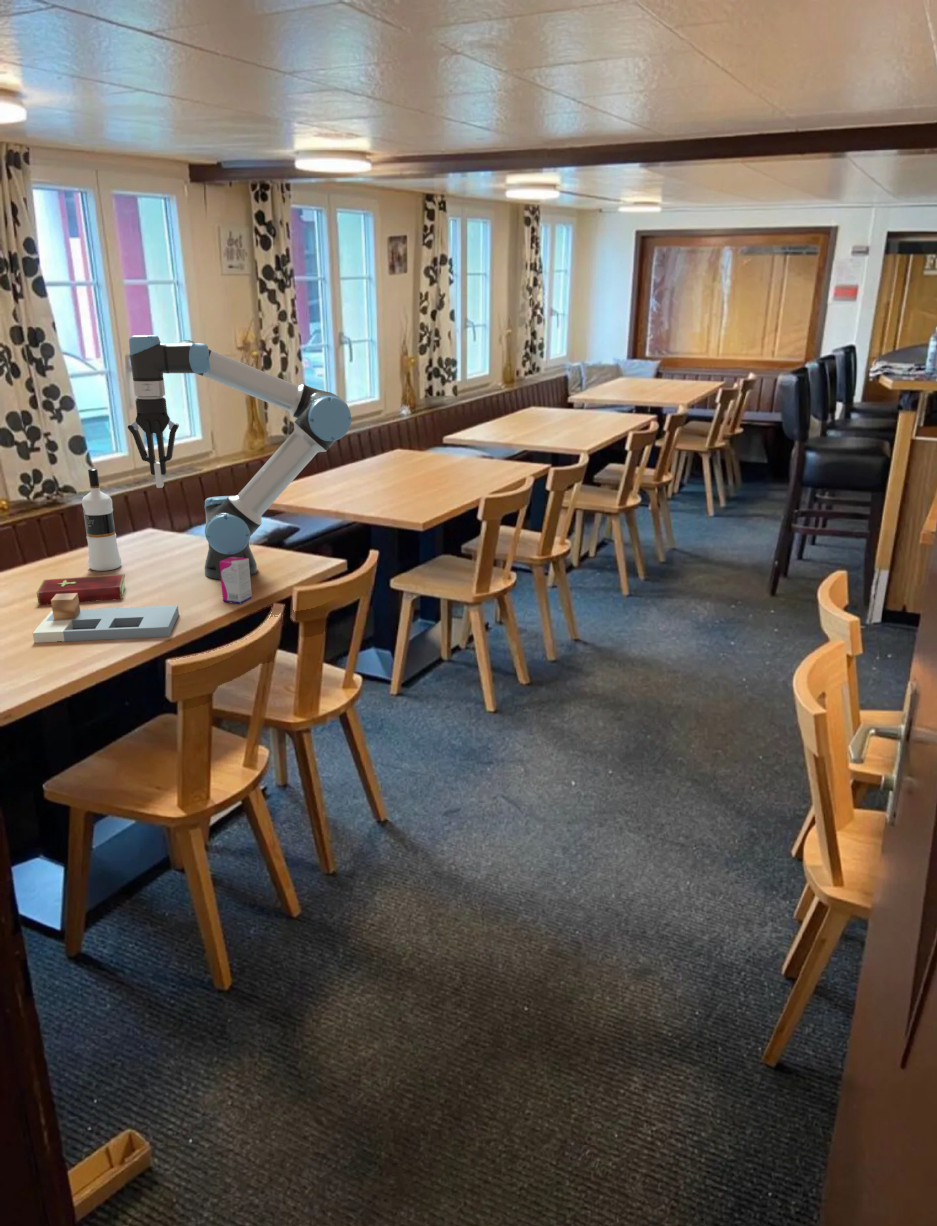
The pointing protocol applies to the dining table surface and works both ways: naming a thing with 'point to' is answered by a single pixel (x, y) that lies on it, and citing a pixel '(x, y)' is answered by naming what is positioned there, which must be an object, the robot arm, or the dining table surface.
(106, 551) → the vodka
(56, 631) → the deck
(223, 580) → the supplement box
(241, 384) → the robot arm
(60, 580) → the hardcover book
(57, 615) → the block
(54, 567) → the dining table surface
